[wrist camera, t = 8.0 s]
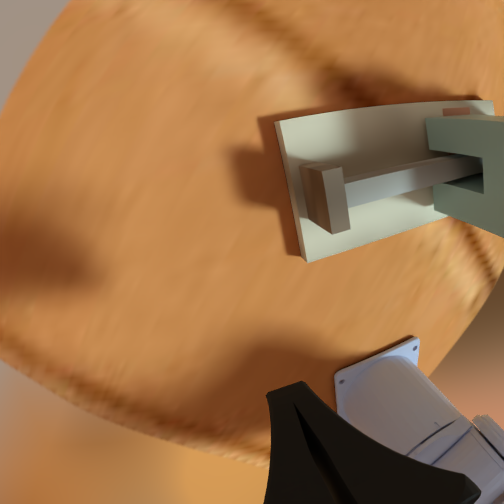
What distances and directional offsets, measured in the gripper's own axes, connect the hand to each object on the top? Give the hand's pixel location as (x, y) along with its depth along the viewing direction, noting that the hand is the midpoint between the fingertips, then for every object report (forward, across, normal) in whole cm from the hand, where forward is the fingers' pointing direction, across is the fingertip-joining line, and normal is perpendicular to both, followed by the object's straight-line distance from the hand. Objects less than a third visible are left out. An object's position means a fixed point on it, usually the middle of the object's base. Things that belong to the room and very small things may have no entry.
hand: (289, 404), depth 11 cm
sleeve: (+8, -16, -5) cm, 18 cm away
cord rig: (+9, -13, -5) cm, 17 cm away
